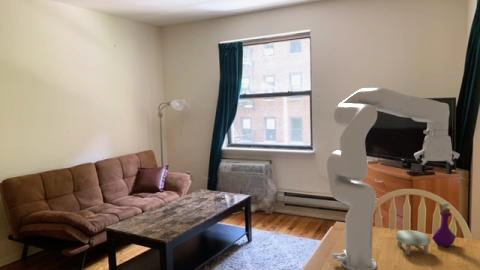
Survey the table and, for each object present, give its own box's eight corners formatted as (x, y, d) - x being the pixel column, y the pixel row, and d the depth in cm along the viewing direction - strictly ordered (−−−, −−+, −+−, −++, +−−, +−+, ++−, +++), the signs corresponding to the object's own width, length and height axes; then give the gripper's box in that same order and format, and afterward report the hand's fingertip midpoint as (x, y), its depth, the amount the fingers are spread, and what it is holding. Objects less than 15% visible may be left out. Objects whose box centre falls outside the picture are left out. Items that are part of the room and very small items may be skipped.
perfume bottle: (435, 239, 147) (436, 198, 145) (455, 243, 143) (457, 201, 140) (431, 245, 142) (433, 203, 139) (452, 250, 137) (454, 207, 135)
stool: (404, 257, 132) (404, 243, 132) (390, 244, 144) (391, 230, 143) (435, 256, 132) (436, 242, 131) (419, 243, 144) (419, 229, 143)
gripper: (418, 134, 139) (416, 175, 141) (464, 133, 136) (462, 175, 138) (411, 132, 146) (410, 171, 148) (455, 131, 143) (454, 171, 146)
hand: (435, 173), depth 143 cm, fingers open, 9 cm apart
